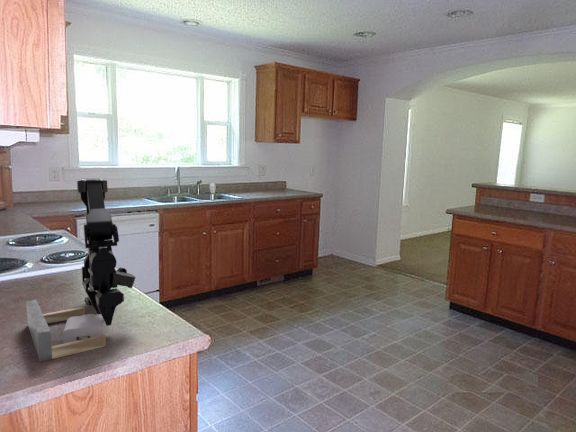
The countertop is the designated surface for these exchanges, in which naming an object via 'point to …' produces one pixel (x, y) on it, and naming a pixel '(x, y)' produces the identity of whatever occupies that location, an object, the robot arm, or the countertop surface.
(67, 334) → the charger
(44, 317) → the guarded bay
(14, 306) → the countertop surface
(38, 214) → the countertop surface
